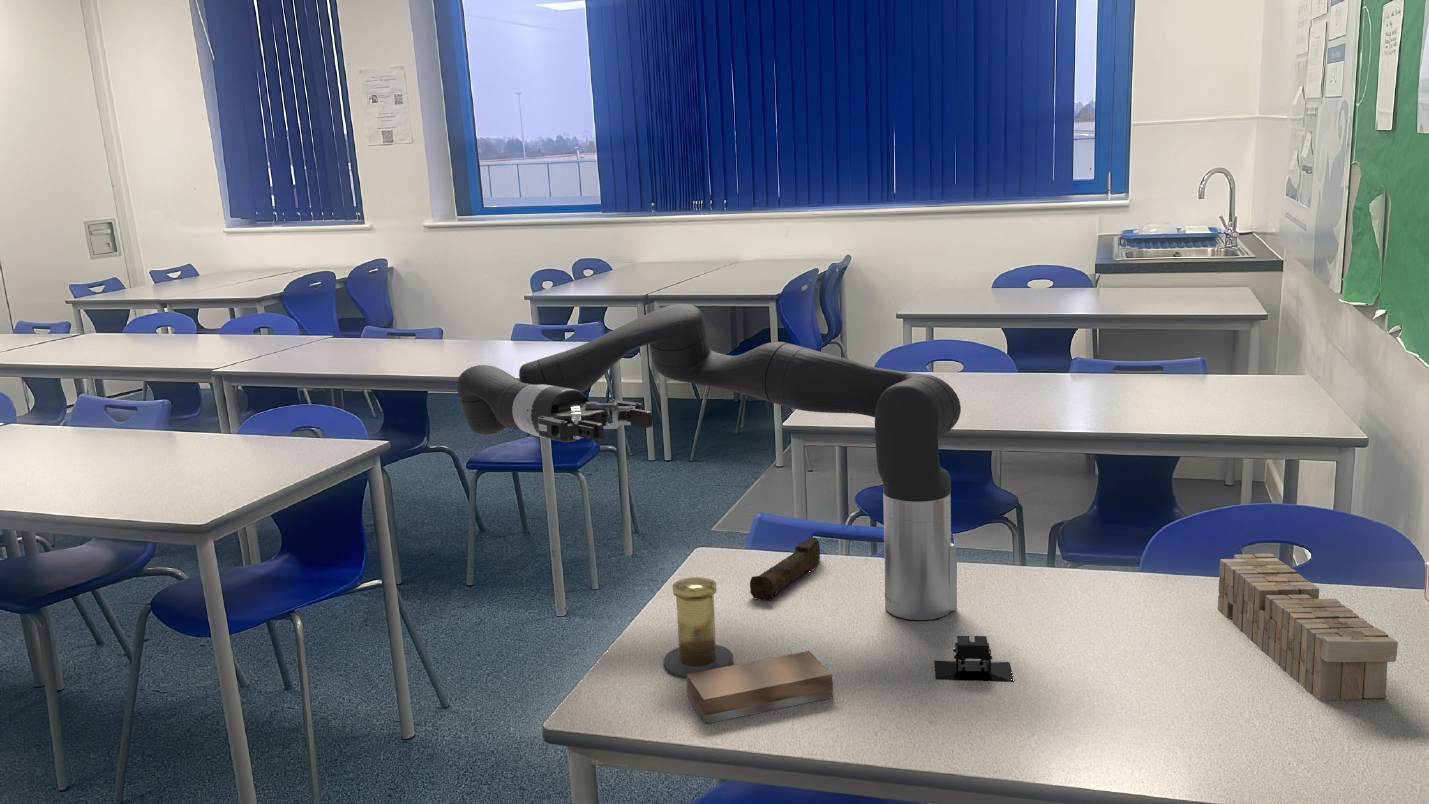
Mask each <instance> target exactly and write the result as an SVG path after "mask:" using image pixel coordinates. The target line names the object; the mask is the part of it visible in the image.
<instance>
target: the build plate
mask: <svg viewBox="0 0 1429 804" xmlns="http://www.w3.org/2000/svg"><path fill="white" fill-rule="evenodd" d="M970 637H971V636H970V635H956V642H954V647H952V652H953V653H954V655H953V658H954V659H953V660H943V659H942V660H941V659H940V660H939V659H936V660H933V666H934V668H933V669H934V679H935V680H936V681H964V682H965V681H966V682H994V683H995V682H996V683H998V682H999V683H1014V681H1015V680H1014V681H1013V677H1014V673H1013V670H1012V666H1011V662H1010V661H995V660H994V661H993V655H991V654H992V649H991V647H990V644H989V641H988V639H987V638H988V637H987V636H986V635H973V641H971V638H970ZM1011 672H1012V673H1011ZM1012 675H1013V676H1012ZM1011 679H1012V680H1011Z"/></svg>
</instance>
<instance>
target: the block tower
mask: <svg viewBox="0 0 1429 804" xmlns="http://www.w3.org/2000/svg"><path fill="white" fill-rule="evenodd" d="M1218 575H1219V580H1218V596H1217V611H1218V612H1220V614H1222V615H1223V616H1224V618H1226V619H1231V620H1232V621H1231V623H1232V624H1233V626H1235V628H1237V630H1239V631H1240V632H1241V633H1243V634H1244V635H1245V636H1246V637H1247V638H1248V639H1249V640H1250V641H1252V643H1253V644H1254V645H1256V647H1257V648H1258V649H1259V650H1260V651H1262V652H1263V653H1264V654H1265V655H1266V656H1268V658H1270V659H1271V660H1272V661H1273V662H1274V663H1275V664H1276V665H1277V666H1279V667H1280V668H1281V669H1282V671H1283V672H1285V673H1286V674H1287V675H1288V676H1289V677H1291V678H1292V679H1293V680H1294V681H1295V682H1296V683H1298V685H1300V686H1301V687H1302V688H1303V689H1305V691H1307V692H1308V694H1311V695H1312V697H1314V699H1316V700H1317V701H1340V700H1341V701H1342V700H1344V701H1345V700H1347V701H1349V700H1351V701H1352V700H1353V701H1355V700H1362V699H1384V698H1386V697H1387V680H1388V679H1387V677H1388V663H1395V662H1396V661H1397V655H1398V647H1399V646H1398V645H1399V642H1398V641H1397V640H1396V639H1394V638H1393V637H1391V636H1389V634H1388V633H1387V632H1385V631H1384V630H1381V629H1379V628H1378V627H1375V626H1374V625H1372V624H1371V623H1369V622H1368V621H1367V620H1366V619H1364V618H1363V617H1360V616H1359V615H1358V614H1357V613H1356V612H1354V611H1353V609H1351V608H1349V607H1346V606H1345V604H1342V603H1341V601H1340V600H1338V599H1337V598H1320V588H1319V587H1318V586H1317V585H1315V584H1314V583H1312V582H1311V581H1308V579H1306V578H1305V577H1304V576H1303V575H1301V574H1300V573H1298V572H1297V571H1296V569H1294V568H1291V567H1290V565H1287V564H1286V563H1284V562H1283V561H1281V560H1280V559H1278V558H1277V557H1276V556H1275V555H1274V554H1273V553H1253V554H1234V555H1233V558H1221V559H1220V560H1219V574H1218Z"/></svg>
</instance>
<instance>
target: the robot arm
mask: <svg viewBox="0 0 1429 804" xmlns="http://www.w3.org/2000/svg"><path fill="white" fill-rule="evenodd" d="M647 345H648V346H649V349H650V353H651V354H650V355H651V357H652V362H653V365H654V367H655V369H656V371H657V372H658V374H660V375H661V376H663V377H665V378H666V379H667V378H668V379H670V380H673V381H676V382H681V383H686V384H694V385H701V386H706V387H712V388H718V389H722V390H726V391H729V392H730V391H732V392H733V393H734V392H735V393H737V394H742V395H747V396H750V397H754V398H757V399H760V400H764V401H767V402H770V403H772V404H775V405H776V404H777V405H779V406H783V407H785V408H788V409H793V410H798V411H803V412H804V411H805V412H810V413H811V412H813V413H824V414H825V413H827V414H853V415H863V416H867V417H868V416H869V417H872V418H874V435H875V437H874V438H875V439H874V440H875V453H876V466H877V471H878V474H879V477H880V478H881V481H882V488H883V489H882V492H883V494H882V495H883V497H882V498H883V503H882V504H883V541H884V542H883V549H884V551H883V553H884V557H883V558H884V603H885V604H884V605H885V610H886V611H887V612H888V613H889V614H891V615H893V616H894V617H898V618H901V619H906V620H911V621H927V620H929V621H930V620H935V619H938V618H942V617H945V616H947V615H948V614H949V613H950V612H952V611H956V610H957V609H958V552H957V551H958V549H957V548H958V547H957V545H956V544H954V543H953V542H952V540H951V538H952V537H951V534H952V532H951V531H952V529H951V528H952V527H951V525H952V524H951V523H952V521H951V520H952V518H951V517H952V515H951V510H952V509H951V507H952V506H951V505H952V503H951V500H952V499H951V498H952V497H951V491H952V490H951V489H952V488H951V485H952V484H951V483H952V482H951V475H950V473H949V471H947V470H946V469H945V468H943V467H941V464H940V455H939V453H940V452H939V439H940V438H942V437H943V436H945V435H946V434H948V433H949V432H950V431H951V430H952V429H953V428H954V427H955V425H956V424H957V423H958V421H959V419H960V416H961V410H962V409H961V408H962V407H961V401H960V399H959V396H958V394H957V393H956V391H955V390H954V389H953V388H952V386H950V385H949V384H948V383H947V382H946V381H944V380H943V379H941V378H939V377H937V376H934V375H930V374H925V373H917V372H908V371H901V370H893V369H886V368H882V367H876V366H870V365H867V364H864V363H860V362H858V361H855V360H851V359H848V358H844V357H840V356H837V355H834V354H829V353H826V352H822V351H818V350H816V349H815V350H814V349H811V348H809V347H805V346H801V345H796V344H792V343H788V342H785V341H773V342H768V343H764V344H762V345H758V346H757V347H755V348H753V349H751V350H748V351H746V352H744V353H741V354H738V355H729V354H724V353H719V352H716V351H714V350H712V349H711V348H710V346H709V340H708V335H707V329H706V324H705V319H704V316H703V313H702V310H700V309H699V308H698V307H696V306H694V305H692V304H689V303H676V304H675V303H673V304H671V305H667V306H664V307H660V308H657V309H655V310H653V311H650V312H648V313H646V314H644V315H642V316H640V317H638V318H636V319H634V320H631V321H629V322H627V323H625V324H623V325H620V326H619V327H616V328H615V329H613V330H612V329H611V331H609V332H607V333H605V334H603V335H601V336H599V337H596V338H594V339H592V340H591V341H588V342H586V343H584V344H580V345H578V346H576V347H572V348H569V349H568V350H564V351H562V352H557V353H555V354H552V355H548V356H545V357H541V358H538V359H536V360H533V361H529V362H526V363H524V364H522V365H521V366H520V368H519V371H518V377H519V379H518V378H516V377H515V376H514V375H512V374H510V373H508V372H507V371H505V370H503V369H502V368H499V367H496V366H492V365H488V364H487V365H486V364H480V365H478V364H477V365H474V366H471V367H469V368H467V369H465V370H464V371H463V372H462V373H461V374H460V375H459V376H458V378H457V382H456V391H457V395H458V397H459V400H460V403H461V406H462V409H463V412H464V414H465V418H466V421H467V424H468V427H469V429H470V430H471V431H472V432H473V433H475V434H478V435H483V436H490V435H494V434H498V433H499V432H502V431H503V430H505V429H511V430H515V431H520V432H524V433H528V434H530V435H532V436H535V437H538V438H539V437H540V438H544V439H548V440H552V441H557V442H558V441H559V442H563V443H570V442H571V443H572V442H575V441H577V440H580V439H587V440H591V441H597V442H599V441H603V440H604V438H605V432H604V430H616V429H618V428H619V427H620V426H634V427H640V428H645V429H649V428H652V427H653V425H654V423H653V413H652V411H650V410H643V409H642V408H643V403H641V402H635V401H627V400H618V399H615V398H614V399H610V400H609V402H598V401H590V400H589V399H588V397H587V396H586V395H585V394H584V393H583V392H585V391H587V390H588V389H589V388H591V387H592V386H594V385H595V384H596V383H597V382H598V381H599V380H600V379H601V378H602V377H603V376H605V375H606V373H607V372H609V371H610V369H611V368H612V367H613V366H615V364H616V363H618V362H620V360H621V359H623V358H624V357H625V356H627V355H629V353H631V352H633V351H635V350H636V349H639V348H642V347H644V346H647ZM609 417H610V419H612V423H608V422H609Z"/></svg>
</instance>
